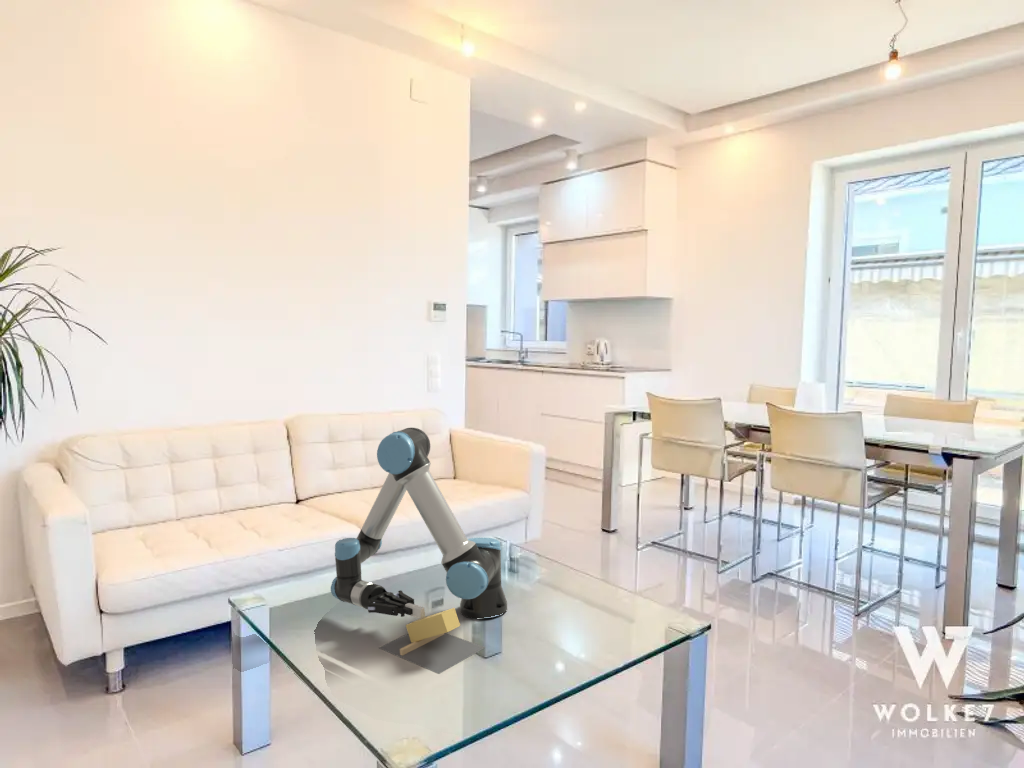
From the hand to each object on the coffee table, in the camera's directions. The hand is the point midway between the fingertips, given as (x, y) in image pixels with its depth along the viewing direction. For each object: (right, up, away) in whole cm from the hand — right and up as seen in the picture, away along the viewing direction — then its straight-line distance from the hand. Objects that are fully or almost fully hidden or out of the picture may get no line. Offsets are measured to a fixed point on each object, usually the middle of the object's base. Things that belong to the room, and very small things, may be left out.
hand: (422, 613), depth 182 cm
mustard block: (-3, -6, +3) cm, 7 cm away
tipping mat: (+3, -10, -1) cm, 10 cm away
